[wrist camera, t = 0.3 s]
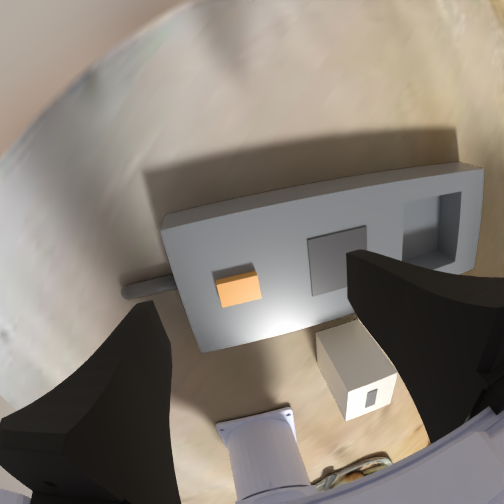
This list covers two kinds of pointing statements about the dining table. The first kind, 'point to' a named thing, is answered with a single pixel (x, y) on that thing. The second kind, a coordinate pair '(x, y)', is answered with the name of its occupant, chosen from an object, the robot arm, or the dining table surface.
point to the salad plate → (352, 473)
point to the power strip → (311, 247)
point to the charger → (354, 369)
